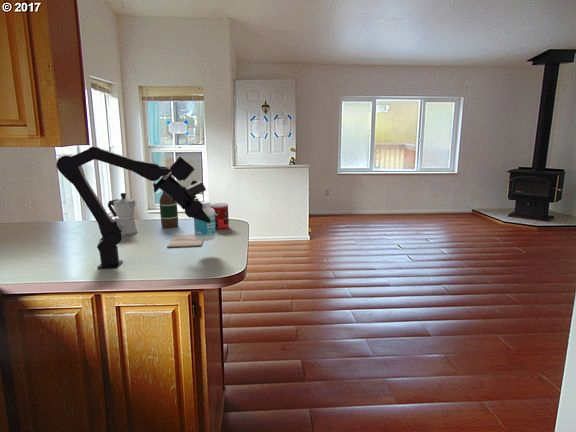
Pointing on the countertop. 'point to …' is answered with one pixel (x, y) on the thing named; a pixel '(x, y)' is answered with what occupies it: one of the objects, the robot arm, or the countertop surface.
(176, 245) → the walnut board
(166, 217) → the beer bottle
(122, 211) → the coffee maker
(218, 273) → the countertop surface
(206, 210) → the pill bottle
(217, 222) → the canned food
